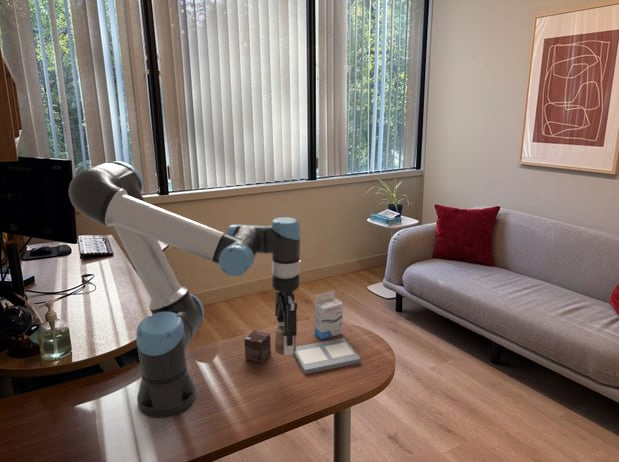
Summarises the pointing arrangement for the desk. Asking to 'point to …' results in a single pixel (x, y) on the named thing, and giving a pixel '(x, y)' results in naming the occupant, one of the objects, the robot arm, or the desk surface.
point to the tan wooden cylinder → (281, 340)
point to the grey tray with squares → (326, 355)
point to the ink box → (328, 315)
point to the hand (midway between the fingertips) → (285, 347)
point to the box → (257, 346)
